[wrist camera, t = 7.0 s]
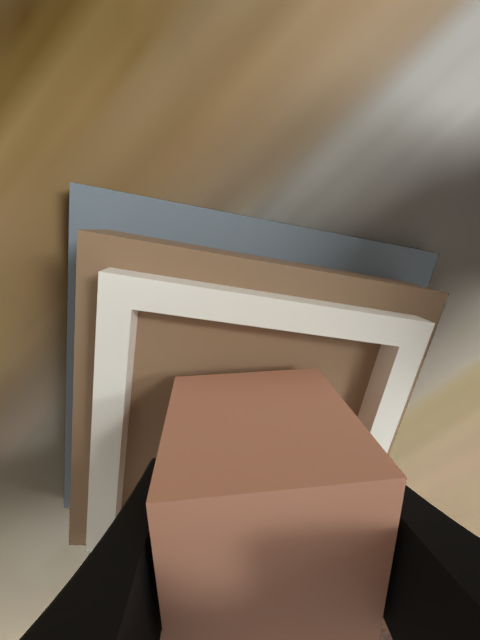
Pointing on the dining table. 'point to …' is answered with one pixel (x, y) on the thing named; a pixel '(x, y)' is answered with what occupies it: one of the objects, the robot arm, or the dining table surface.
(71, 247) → the build base
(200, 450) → the terracotta cube
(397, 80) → the dining table surface
